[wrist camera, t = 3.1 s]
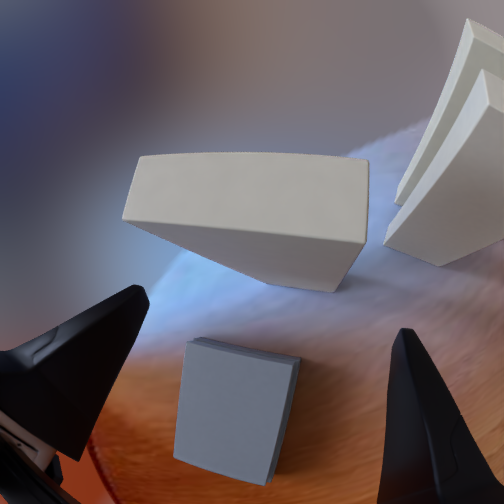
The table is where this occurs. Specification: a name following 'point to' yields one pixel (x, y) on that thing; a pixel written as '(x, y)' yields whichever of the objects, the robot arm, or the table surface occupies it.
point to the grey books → (234, 409)
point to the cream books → (458, 161)
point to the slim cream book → (258, 212)
